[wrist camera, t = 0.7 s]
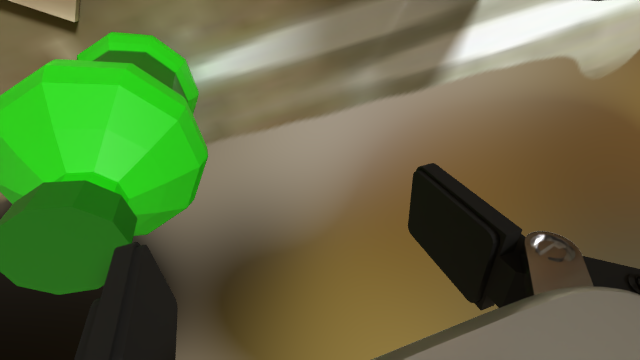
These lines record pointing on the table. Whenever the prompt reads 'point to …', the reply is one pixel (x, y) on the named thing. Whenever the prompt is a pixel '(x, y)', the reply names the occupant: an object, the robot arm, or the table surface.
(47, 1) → the board
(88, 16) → the table surface
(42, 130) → the plastic bottle
